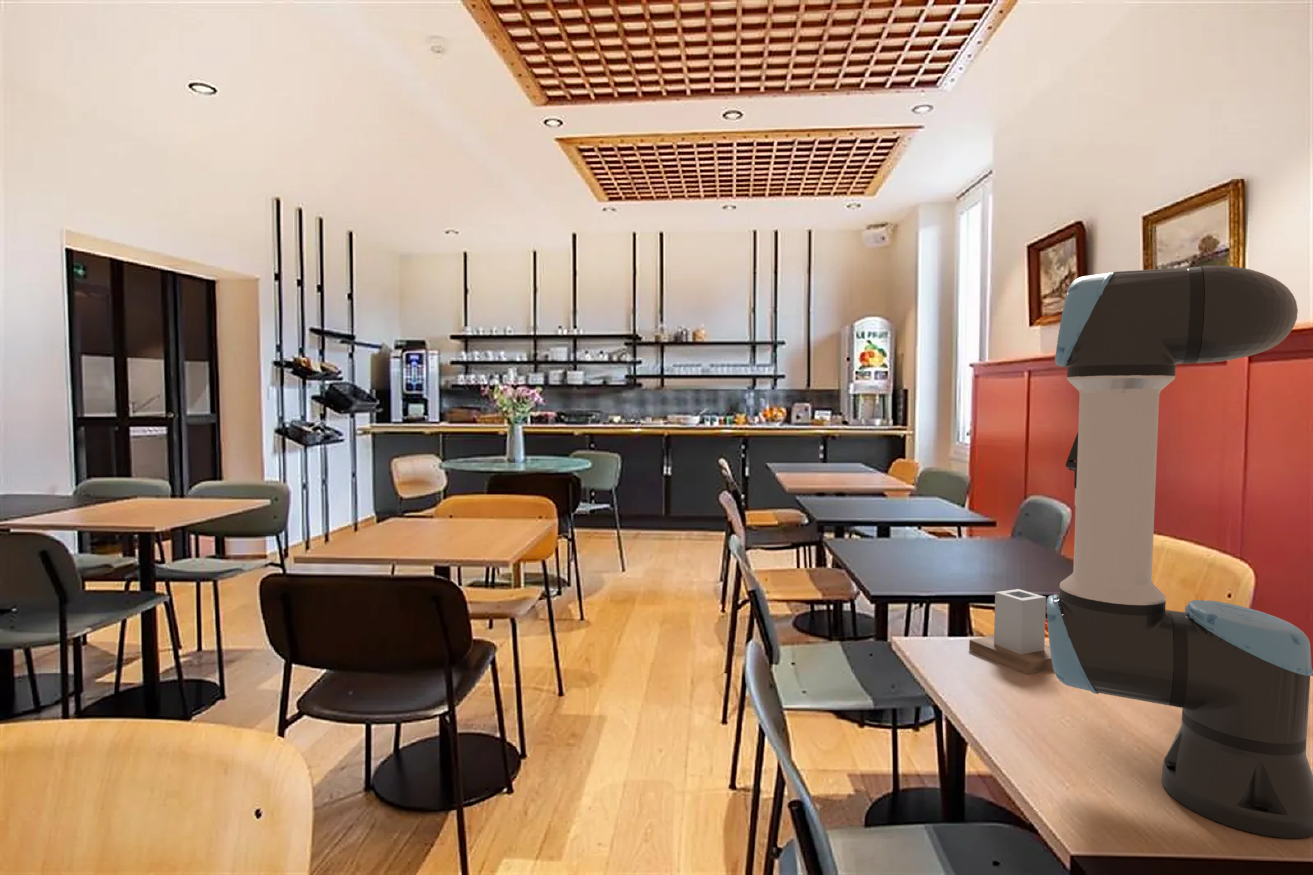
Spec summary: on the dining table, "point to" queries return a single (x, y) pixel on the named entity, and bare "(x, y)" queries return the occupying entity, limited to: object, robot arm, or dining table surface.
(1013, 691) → the dining table surface
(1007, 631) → the light grey hollow box
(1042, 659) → the wooden peg base
